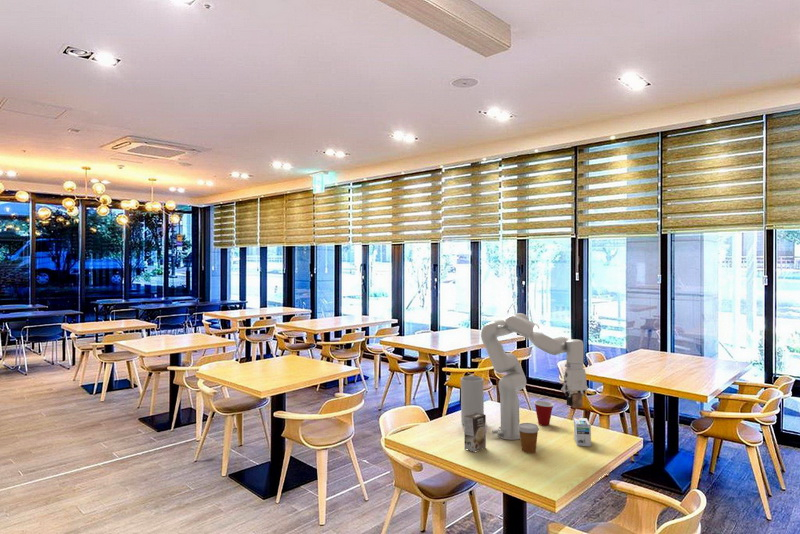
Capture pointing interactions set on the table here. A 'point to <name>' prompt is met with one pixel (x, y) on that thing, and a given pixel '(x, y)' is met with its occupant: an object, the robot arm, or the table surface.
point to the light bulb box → (582, 432)
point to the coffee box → (475, 431)
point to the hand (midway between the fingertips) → (574, 404)
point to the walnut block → (576, 400)
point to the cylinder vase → (471, 396)
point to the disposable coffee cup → (528, 437)
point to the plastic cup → (543, 412)
